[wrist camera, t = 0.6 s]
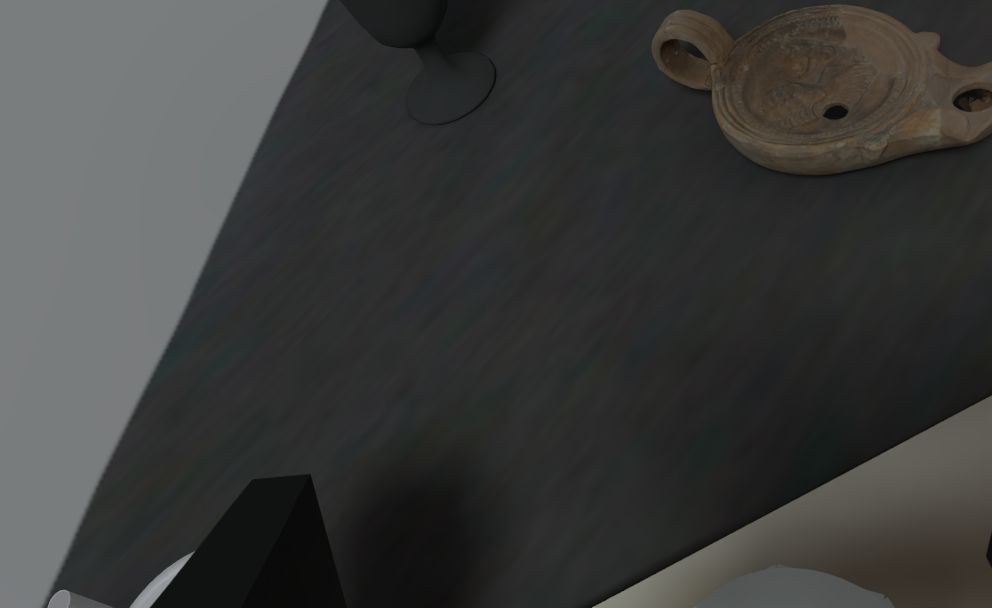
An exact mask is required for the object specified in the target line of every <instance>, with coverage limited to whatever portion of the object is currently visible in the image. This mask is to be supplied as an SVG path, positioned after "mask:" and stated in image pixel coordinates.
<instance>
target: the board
mask: <svg viewBox="0 0 992 608" xmlns="http://www.w3.org/2000/svg"><path fill="white" fill-rule="evenodd" d="M991 532H992V396H990V397H988V398H986V399H984V400H982V401H980V402H978V403H977V404H975V405H973V406H971V407H969V408H967V409H965V410H963V411H961V412H960V413H958V414H956V415H954V416H952V417H950V418H948V419H946V420H945V421H943V422H941V423H939V424H937V425H935V426H933V427H931V428H929V429H928V430H926V431H924V432H922V433H920V434H918V435H916V436H914V437H913V438H911V439H909V440H907V441H905V442H903V443H901V444H899V445H897V446H896V447H894V448H892V449H890V450H888V451H886V452H884V453H882V454H881V455H879V456H877V457H875V458H873V459H871V460H869V461H867V462H865V463H864V464H862V465H860V466H858V467H856V468H854V469H852V470H850V471H849V472H847V473H845V474H843V475H841V476H839V477H837V478H835V479H833V480H832V481H830V482H828V483H826V484H824V485H822V486H820V487H818V488H817V489H815V490H813V491H811V492H809V493H807V494H805V495H803V496H801V497H800V498H798V499H796V500H794V501H792V502H790V503H788V504H786V505H785V506H783V507H781V508H779V509H777V510H775V511H773V512H771V513H769V514H768V515H766V516H764V517H762V518H760V519H758V520H756V521H754V522H753V523H751V524H749V525H747V526H745V527H743V528H741V529H739V530H737V531H736V532H734V533H732V534H730V535H728V536H726V537H724V538H722V539H720V540H719V541H717V542H715V543H713V544H711V545H709V546H707V547H705V548H704V549H702V550H700V551H698V552H696V553H694V554H692V555H690V556H688V557H687V558H685V559H683V560H681V561H679V562H677V563H675V564H673V565H672V566H670V567H668V568H666V569H664V570H662V571H660V572H658V573H656V574H655V575H653V576H651V577H649V578H647V579H645V580H643V581H641V582H640V583H638V584H636V585H634V586H632V587H630V588H628V589H626V590H624V591H623V592H621V593H619V594H617V595H615V596H613V597H611V598H609V599H608V600H606V601H604V602H602V603H600V604H598V605H596V606H594V607H592V608H693V607H695V606H697V605H698V604H699V603H700V602H701V601H702V600H703V599H705V598H706V597H707V596H708V595H709V594H711V593H712V592H713V591H714V590H716V589H718V588H719V587H721V586H722V585H724V584H726V583H727V582H729V581H732V580H734V579H736V578H738V577H741V576H743V575H746V574H750V573H753V572H757V571H761V570H765V569H767V568H769V567H771V566H773V565H775V566H776V567H778V564H780V565H783V566H786V567H790V568H799V569H809V570H814V571H818V572H823V573H827V574H830V575H833V576H836V577H839V578H842V579H844V580H846V581H849V582H851V583H853V584H855V585H857V586H859V587H861V588H863V589H866V590H869V591H873V592H876V593H880V594H883V595H885V598H887V597H888V598H889V600H890V601H891V603H892V604H893V606H894V607H895V608H992V568H991V566H990V564H989V562H988V560H987V557H986V554H987V549H988V545H989V541H990V537H991Z"/></svg>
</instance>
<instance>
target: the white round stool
mask: <svg viewBox="0 0 992 608" xmlns="http://www.w3.org/2000/svg"><path fill="white" fill-rule="evenodd" d="M693 608H895V607H894V606H893V604H892V603H891V601H890V600H889V598H888V597H887V598H885V595H883V594H880V593H876V592H873V591H869V590H866V589H863V588H861V587H859V586H857V585H855V584H853V583H851V582H849V581H846V580H844V579H842V578H839V577H836V576H833V575H830V574H827V573H823V572H818V571H814V570H809V569H799V568H790V567H786V566H783V565H780V564H778V567H776V566H775V565H773V566H771V567H769V568H767V569H765V570H761V571H757V572H753V573H750V574H746V575H743V576H741V577H738V578H736V579H734V580H732V581H729V582H727V583H726V584H724V585H722V586H721V587H719V588H718V589H716V590H714V591H713V592H712V593H711V594H709V595H708V596H707V597H706V598H705V599H703V600H702V601H701V602H700V603H699V604H698V605H697V606H695V607H693Z"/></svg>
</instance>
